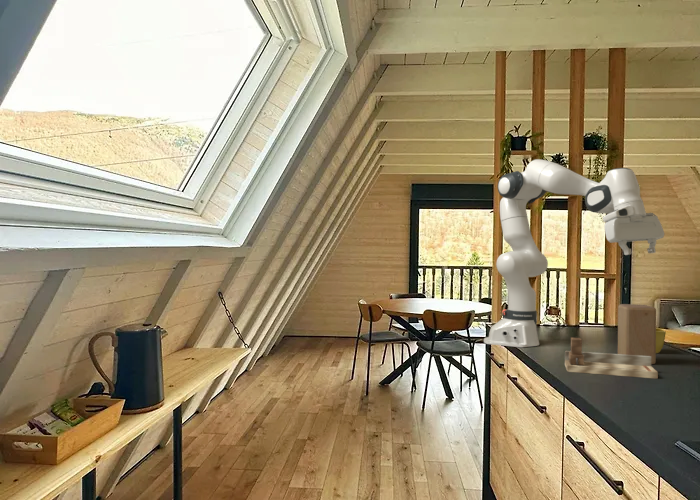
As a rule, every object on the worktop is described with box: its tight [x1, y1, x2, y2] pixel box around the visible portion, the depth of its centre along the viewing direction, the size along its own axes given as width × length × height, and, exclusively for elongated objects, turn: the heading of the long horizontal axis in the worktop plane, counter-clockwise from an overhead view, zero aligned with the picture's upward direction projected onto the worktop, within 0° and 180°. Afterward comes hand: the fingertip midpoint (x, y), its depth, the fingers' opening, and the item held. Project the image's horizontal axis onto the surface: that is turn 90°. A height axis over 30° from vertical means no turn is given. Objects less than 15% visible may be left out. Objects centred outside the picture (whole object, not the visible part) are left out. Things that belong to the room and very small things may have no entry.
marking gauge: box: [569, 337, 584, 365], centre depth 172 cm, size 4×7×8 cm, turn 162°
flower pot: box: [656, 327, 667, 354], centre depth 203 cm, size 9×9×9 cm
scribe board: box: [564, 350, 659, 380], centre depth 170 cm, size 26×10×5 cm, turn 72°
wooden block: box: [617, 303, 657, 365], centre depth 186 cm, size 10×10×20 cm
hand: (640, 253), depth 169 cm, fingers open, 8 cm apart
